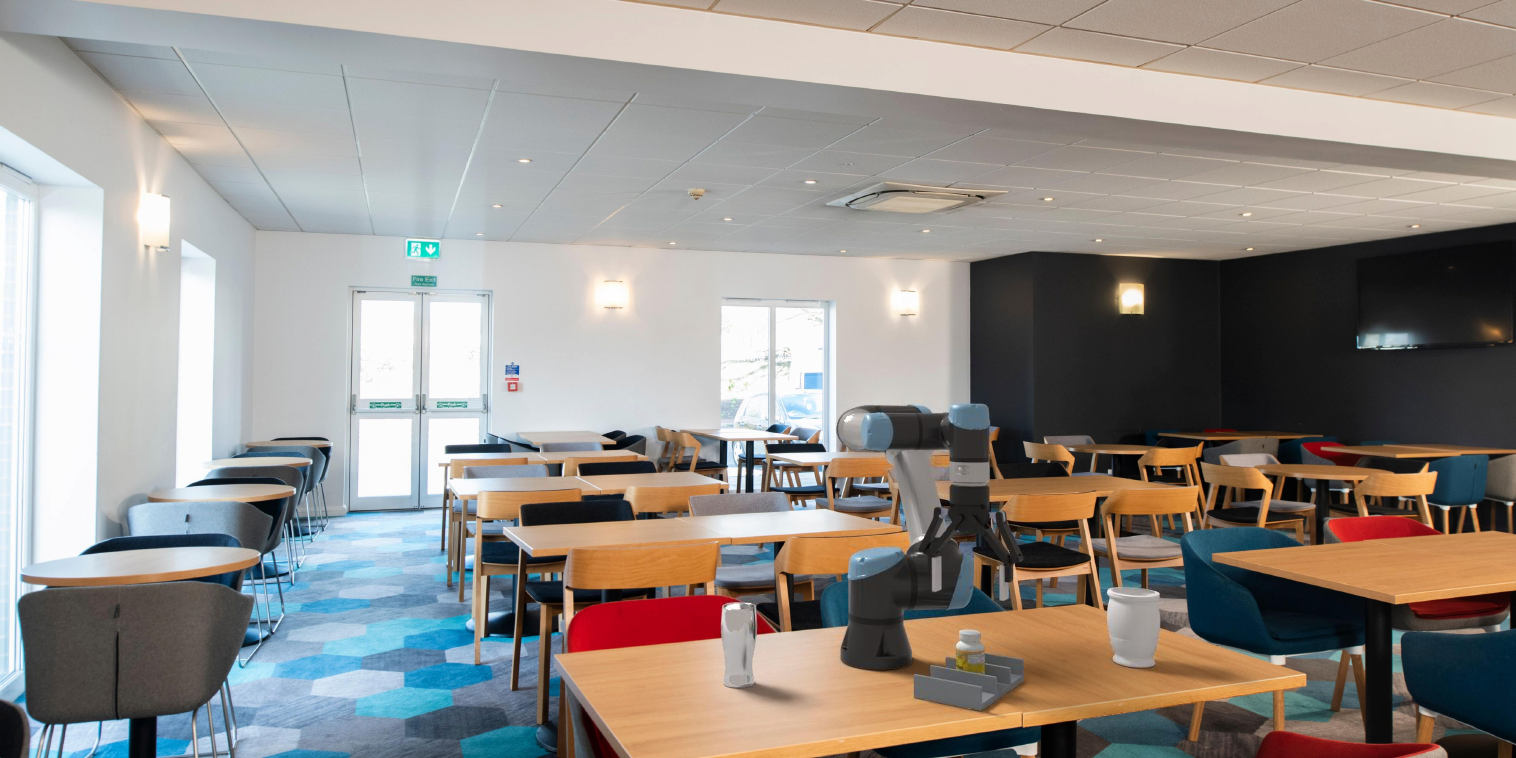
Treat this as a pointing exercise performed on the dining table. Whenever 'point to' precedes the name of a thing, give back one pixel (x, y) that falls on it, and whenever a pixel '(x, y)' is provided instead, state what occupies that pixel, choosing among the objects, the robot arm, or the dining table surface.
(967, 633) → the supplement bottle
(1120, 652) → the jar
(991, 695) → the rack
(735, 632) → the beer glass
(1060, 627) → the dining table surface
